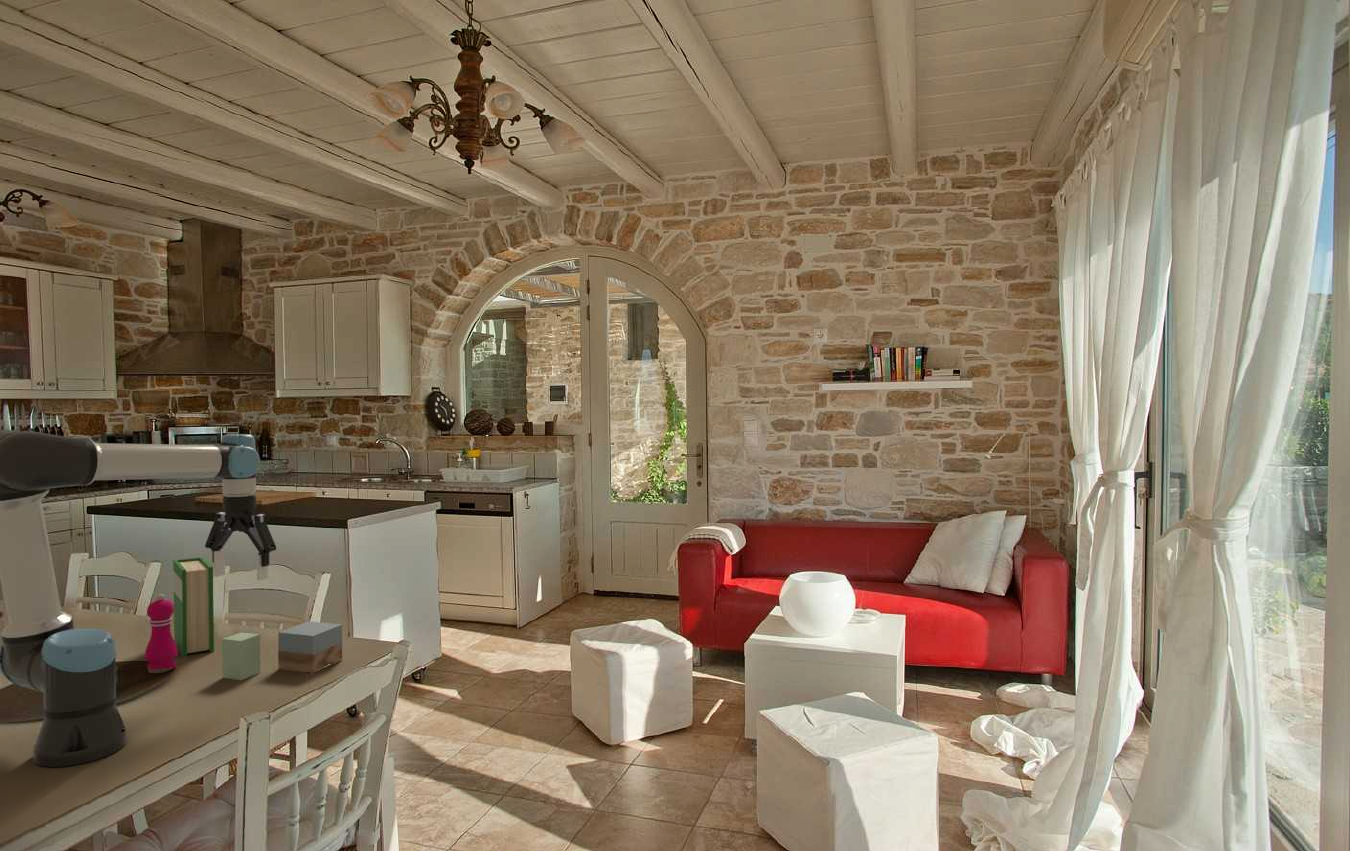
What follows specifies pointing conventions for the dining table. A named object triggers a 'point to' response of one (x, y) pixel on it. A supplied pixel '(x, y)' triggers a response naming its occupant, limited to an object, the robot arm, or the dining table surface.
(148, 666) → the pepper mill
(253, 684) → the dining table surface
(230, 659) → the sage block
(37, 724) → the dining table surface
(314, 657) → the tower bottom block
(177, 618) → the hardback book
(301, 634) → the tower top block
